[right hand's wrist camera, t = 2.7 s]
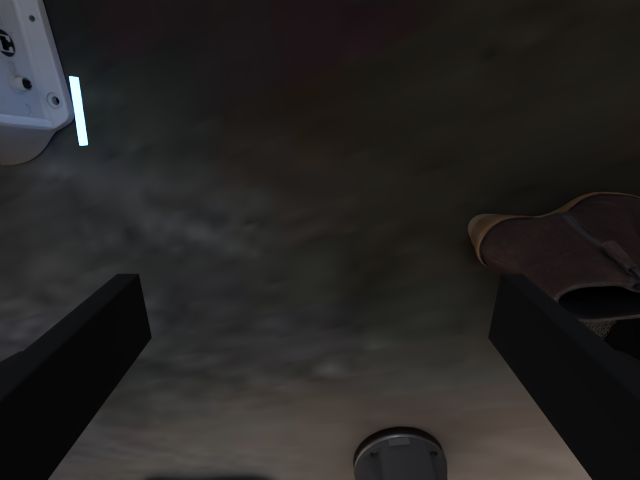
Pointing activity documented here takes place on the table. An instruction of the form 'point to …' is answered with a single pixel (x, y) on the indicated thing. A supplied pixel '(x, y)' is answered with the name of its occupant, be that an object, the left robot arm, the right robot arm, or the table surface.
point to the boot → (571, 253)
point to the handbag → (626, 337)
